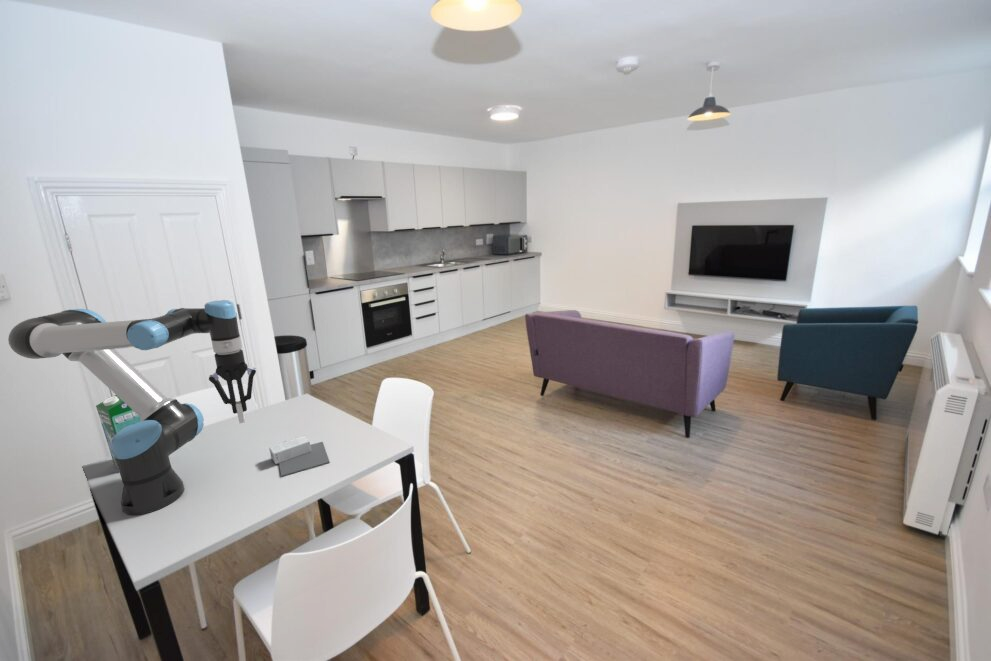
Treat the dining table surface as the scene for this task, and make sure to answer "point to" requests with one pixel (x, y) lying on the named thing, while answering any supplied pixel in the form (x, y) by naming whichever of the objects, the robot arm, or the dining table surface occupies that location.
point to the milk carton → (115, 418)
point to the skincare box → (290, 449)
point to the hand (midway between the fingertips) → (242, 421)
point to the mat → (305, 460)
